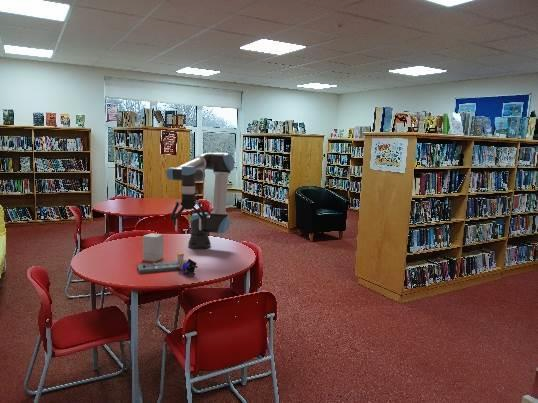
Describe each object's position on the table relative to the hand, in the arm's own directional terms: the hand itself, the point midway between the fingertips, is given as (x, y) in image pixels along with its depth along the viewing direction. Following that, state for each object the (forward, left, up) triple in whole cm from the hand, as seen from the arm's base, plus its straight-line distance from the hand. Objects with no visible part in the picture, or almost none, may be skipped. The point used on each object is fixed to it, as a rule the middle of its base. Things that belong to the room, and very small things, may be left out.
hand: (188, 230), depth 235 cm
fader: (+5, +1, -19) cm, 19 cm away
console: (+14, +1, -21) cm, 25 cm away
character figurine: (+3, +14, -21) cm, 25 cm away
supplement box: (+18, -19, -21) cm, 34 cm away
